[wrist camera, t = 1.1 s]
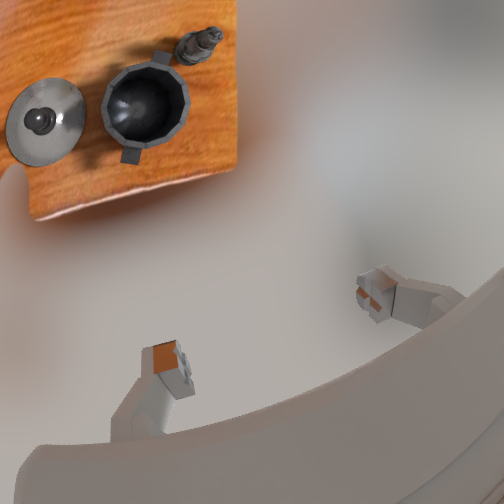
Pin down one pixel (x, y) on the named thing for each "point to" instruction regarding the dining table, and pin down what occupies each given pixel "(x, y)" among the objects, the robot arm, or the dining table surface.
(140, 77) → the pot
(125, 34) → the dining table surface
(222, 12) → the dining table surface
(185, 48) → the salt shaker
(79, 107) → the lid
